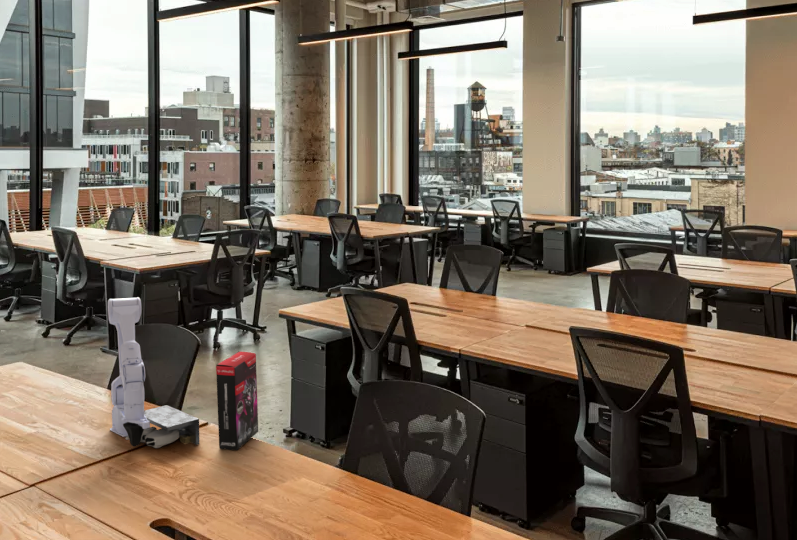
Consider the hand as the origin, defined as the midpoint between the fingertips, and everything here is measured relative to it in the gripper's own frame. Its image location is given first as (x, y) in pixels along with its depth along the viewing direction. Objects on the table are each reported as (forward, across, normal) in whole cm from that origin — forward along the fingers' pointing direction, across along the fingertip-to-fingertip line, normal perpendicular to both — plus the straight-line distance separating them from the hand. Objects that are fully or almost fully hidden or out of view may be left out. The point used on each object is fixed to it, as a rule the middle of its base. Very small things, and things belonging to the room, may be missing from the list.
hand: (135, 445), depth 229 cm
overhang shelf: (+1, 0, +11) cm, 11 cm away
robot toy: (+2, -1, +7) cm, 8 cm away
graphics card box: (+2, +16, +26) cm, 31 cm away
